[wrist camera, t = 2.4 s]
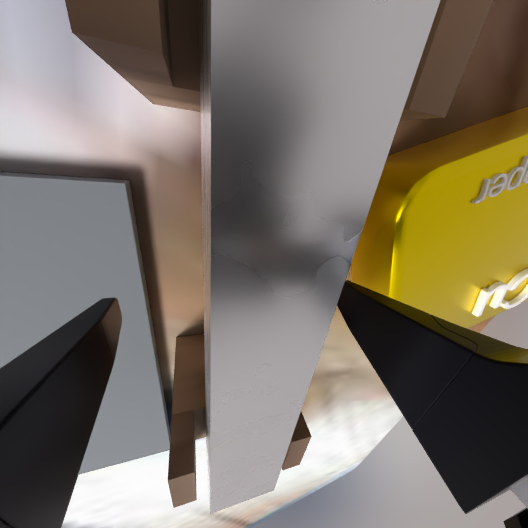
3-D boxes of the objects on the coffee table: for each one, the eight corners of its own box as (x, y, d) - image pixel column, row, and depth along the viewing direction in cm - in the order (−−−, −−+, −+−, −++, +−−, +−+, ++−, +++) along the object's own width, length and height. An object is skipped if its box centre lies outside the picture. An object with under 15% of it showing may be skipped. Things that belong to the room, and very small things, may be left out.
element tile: (545, 97, 15) (677, 84, 11) (479, 273, 23) (541, 302, 19) (343, 169, 13) (411, 184, 9) (351, 330, 21) (388, 376, 17)
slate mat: (129, 180, 10) (125, 183, 9) (171, 439, 21) (170, 449, 20) (-186, 159, 7) (-224, 161, 7) (51, 470, 18) (46, 483, 17)
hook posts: (310, 45, 9) (548, -129, 3) (261, 352, 18) (299, 464, 12) (142, -4, 8) (-80, -678, 1) (179, 366, 16) (173, 507, 10)
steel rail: (358, -89, 5) (561, -357, 2) (258, 426, 14) (273, 490, 11) (196, -176, 4) (212, -864, 1) (206, 441, 13) (210, 513, 10)
